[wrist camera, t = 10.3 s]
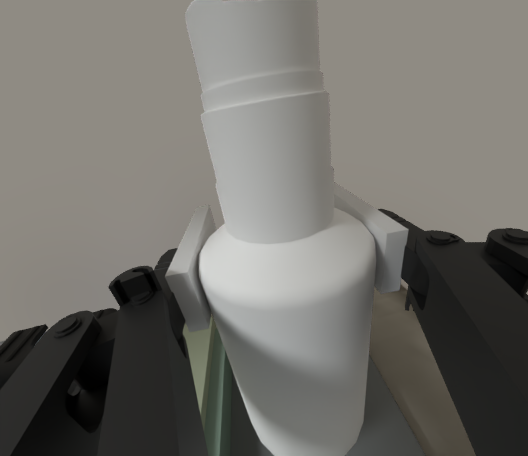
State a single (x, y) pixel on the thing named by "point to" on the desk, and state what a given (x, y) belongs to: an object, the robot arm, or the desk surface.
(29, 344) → the end cap
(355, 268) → the spray bottle
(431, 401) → the desk surface
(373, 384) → the chute bracket
